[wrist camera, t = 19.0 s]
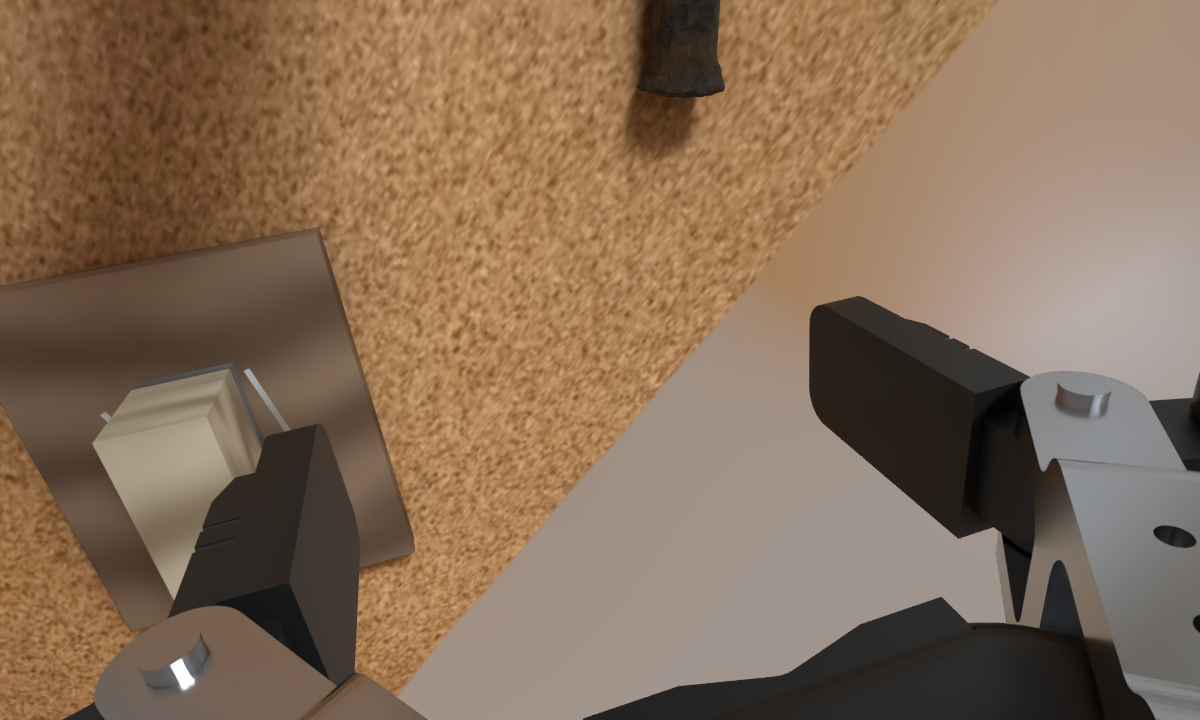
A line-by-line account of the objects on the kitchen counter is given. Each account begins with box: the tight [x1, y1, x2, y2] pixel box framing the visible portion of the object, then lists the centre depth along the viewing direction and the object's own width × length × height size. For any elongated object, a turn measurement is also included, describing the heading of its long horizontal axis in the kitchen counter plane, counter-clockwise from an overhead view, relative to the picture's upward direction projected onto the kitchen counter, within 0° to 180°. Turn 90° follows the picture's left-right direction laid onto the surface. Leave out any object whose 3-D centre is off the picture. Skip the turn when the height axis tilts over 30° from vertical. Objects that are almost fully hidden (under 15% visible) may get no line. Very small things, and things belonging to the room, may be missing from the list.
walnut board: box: [0, 227, 415, 632], centre depth 38 cm, size 20×16×2 cm
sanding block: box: [92, 362, 264, 600], centre depth 34 cm, size 9×4×6 cm, turn 8°
